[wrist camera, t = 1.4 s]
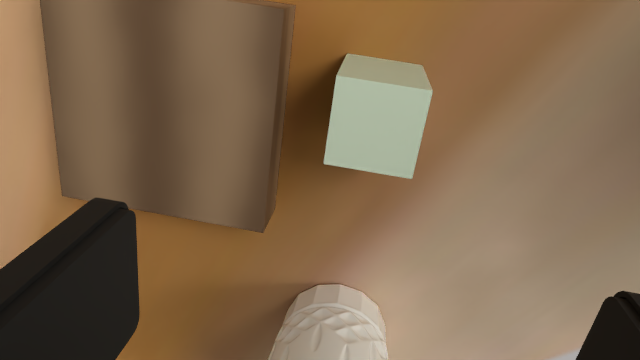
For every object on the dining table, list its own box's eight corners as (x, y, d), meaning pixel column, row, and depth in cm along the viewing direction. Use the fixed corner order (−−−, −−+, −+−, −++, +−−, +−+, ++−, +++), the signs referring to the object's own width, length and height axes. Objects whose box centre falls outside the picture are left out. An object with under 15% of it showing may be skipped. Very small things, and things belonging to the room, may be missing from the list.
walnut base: (295, 5, 24) (284, 9, 21) (274, 208, 29) (263, 232, 26) (75, -28, 25) (36, -29, 22) (91, 175, 30) (62, 196, 27)
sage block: (422, 64, 24) (432, 90, 19) (406, 136, 26) (411, 179, 21) (347, 53, 25) (336, 75, 19) (336, 124, 26) (323, 163, 21)
